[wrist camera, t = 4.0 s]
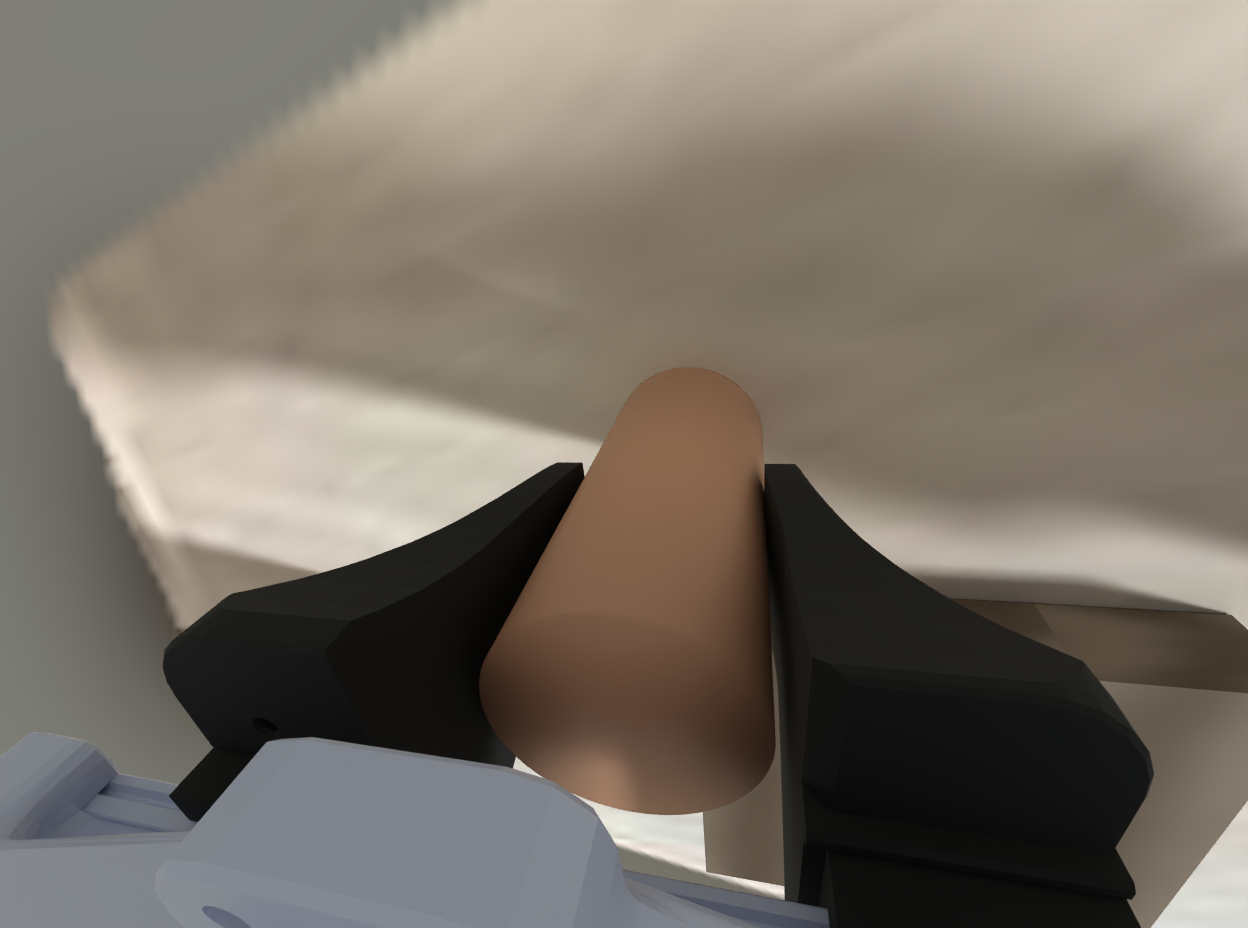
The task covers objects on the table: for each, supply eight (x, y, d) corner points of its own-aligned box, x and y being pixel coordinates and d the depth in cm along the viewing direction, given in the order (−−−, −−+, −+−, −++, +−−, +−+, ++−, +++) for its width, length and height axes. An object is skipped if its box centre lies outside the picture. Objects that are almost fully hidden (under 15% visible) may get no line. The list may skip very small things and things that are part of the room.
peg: (763, 364, 13) (781, 627, 6) (761, 498, 15) (771, 834, 7) (611, 370, 14) (446, 601, 7) (626, 495, 16) (511, 791, 8)
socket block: (1231, 614, 16) (1324, 699, 13) (1089, 860, 22) (1134, 949, 20) (700, 584, 20) (693, 646, 17) (710, 802, 26) (706, 871, 23)
